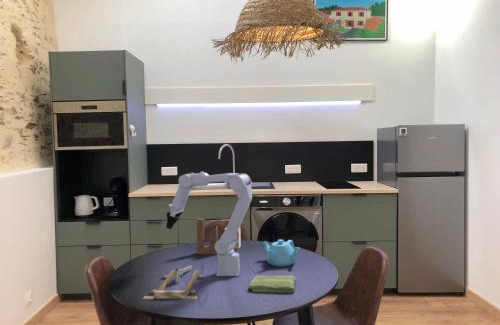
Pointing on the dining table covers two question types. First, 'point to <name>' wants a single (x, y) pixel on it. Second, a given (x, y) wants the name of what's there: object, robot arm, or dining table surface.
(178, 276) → the caliper
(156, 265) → the dining table surface
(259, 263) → the dining table surface
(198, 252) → the brown wooden frame
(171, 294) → the rails
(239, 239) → the small box
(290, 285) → the washcloth
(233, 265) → the robot arm
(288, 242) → the teapot
